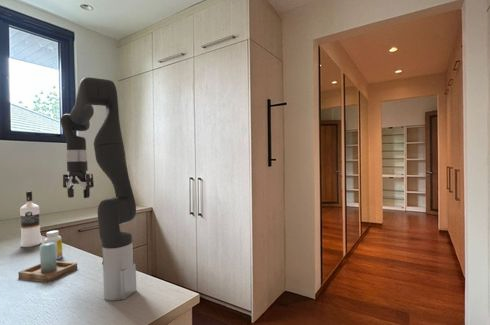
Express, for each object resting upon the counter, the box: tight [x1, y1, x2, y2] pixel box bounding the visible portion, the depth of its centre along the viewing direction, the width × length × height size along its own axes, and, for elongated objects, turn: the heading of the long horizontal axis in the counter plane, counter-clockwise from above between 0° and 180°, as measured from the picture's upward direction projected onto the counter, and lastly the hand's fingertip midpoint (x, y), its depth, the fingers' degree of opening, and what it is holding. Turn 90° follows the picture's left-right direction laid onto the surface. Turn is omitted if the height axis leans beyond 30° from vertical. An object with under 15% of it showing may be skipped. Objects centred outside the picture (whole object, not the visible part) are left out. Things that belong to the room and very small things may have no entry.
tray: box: [18, 260, 78, 283], centre depth 106 cm, size 16×12×2 cm
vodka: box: [19, 190, 43, 248], centre depth 143 cm, size 9×9×30 cm
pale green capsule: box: [39, 242, 57, 274], centre depth 106 cm, size 5×5×11 cm
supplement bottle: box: [43, 230, 63, 261], centre depth 122 cm, size 7×7×13 cm
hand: (78, 197), depth 112 cm, fingers open, 8 cm apart
